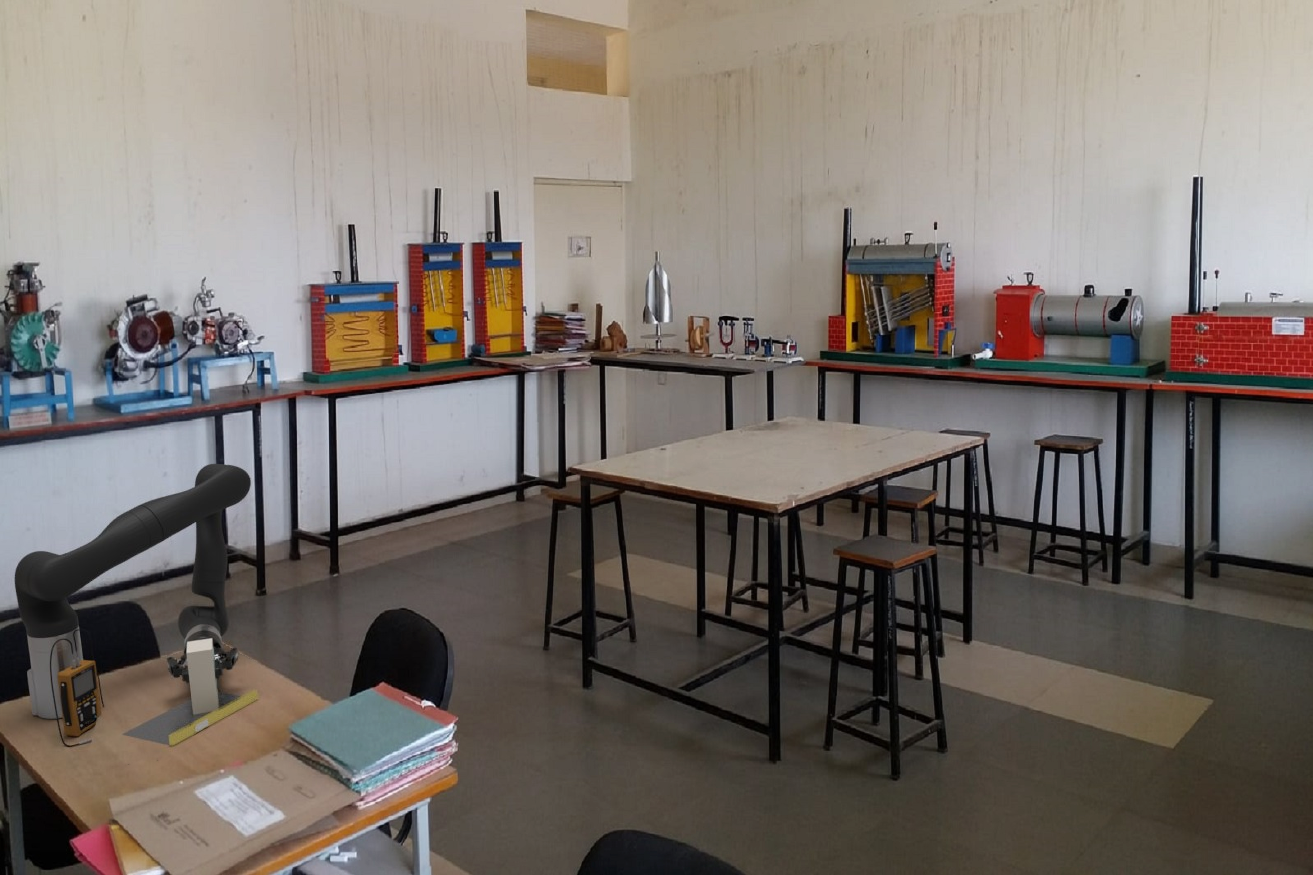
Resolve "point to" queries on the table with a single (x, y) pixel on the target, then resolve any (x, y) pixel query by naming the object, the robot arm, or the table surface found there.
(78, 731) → the multimeter
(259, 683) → the table surface
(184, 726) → the shelf
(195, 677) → the carton
